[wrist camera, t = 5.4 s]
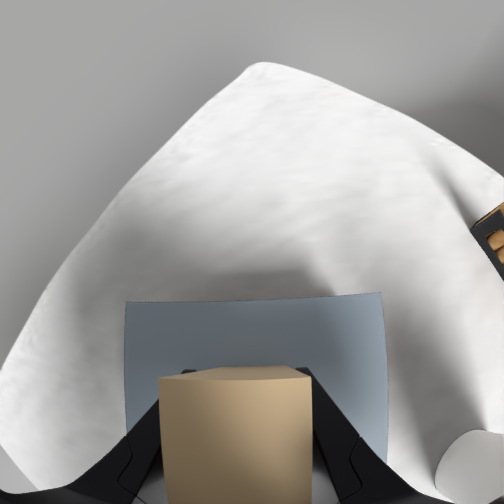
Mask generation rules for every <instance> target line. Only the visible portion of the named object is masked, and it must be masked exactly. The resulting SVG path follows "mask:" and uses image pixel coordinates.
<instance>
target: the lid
mask: <svg viewBox="0 0 504 504" xmlns="http://www.w3.org/2000/svg"><path fill="white" fill-rule="evenodd" d="M296 367H308V368H309V370H310V371H311V372H312V373H313V375H314V376H315V377H316V379H317V380H318V381H319V383H320V384H321V385H322V387H323V388H324V389H325V390H326V392H327V393H328V394H329V396H330V397H331V398H332V400H333V401H334V402H335V403H336V405H337V406H338V407H339V409H340V410H341V411H342V412H343V414H344V415H345V416H346V418H347V419H348V420H349V421H350V423H351V424H352V425H353V426H354V428H355V429H356V430H357V432H358V433H359V434H360V437H362V438H363V439H364V440H365V441H366V443H367V444H368V445H369V446H370V448H371V449H372V450H373V451H374V452H375V453H376V454H377V455H378V456H379V457H380V458H381V459H382V460H383V461H384V462H385V463H386V464H387V446H388V372H387V353H386V338H385V327H384V316H383V307H382V298H381V292H379V293H367V294H355V295H342V296H328V297H312V298H295V299H275V300H251V301H218V302H126V313H125V340H124V385H125V411H126V427H127V433H128V432H129V431H130V430H131V428H132V427H133V426H134V425H135V424H136V423H137V422H138V421H139V420H140V418H141V417H142V416H143V415H144V414H145V413H146V412H147V411H148V410H149V408H150V407H151V406H152V405H153V404H154V403H155V402H156V401H157V399H158V398H159V412H160V430H161V445H162V457H163V467H164V477H165V486H166V494H167V502H168V504H312V388H311V377H310V376H308V375H306V374H303V373H301V372H299V371H297V370H295V368H296ZM184 369H195V370H196V371H197V372H192V373H186V374H180V373H181V372H182V371H183V370H184Z"/></svg>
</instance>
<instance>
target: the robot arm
mask: <svg viewBox="0 0 504 504" xmlns="http://www.w3.org/2000/svg"><path fill="white" fill-rule="evenodd" d="M295 370H297V371H299V372H301V373H303V374H306V375H308V376H310V377H311V388H312V504H455V503H451V502H447V501H444V500H440V499H437V498H433V497H430V496H427V495H424V494H422V493H420V492H418V491H417V490H415V489H414V488H412V487H411V486H410V485H409V484H408V483H406V482H405V481H404V480H403V479H402V478H401V477H400V476H399V475H398V474H396V473H395V472H394V471H393V470H392V469H391V468H390V467H389V466H388V465H387V464H386V463H385V462H384V461H383V460H382V459H381V458H380V457H379V456H378V455H377V454H376V453H375V452H374V451H373V450H372V449H371V448H370V446H369V445H368V444H367V443H366V441H365V440H364V439H363V438H362V437H360V434H359V433H358V432H357V430H356V429H355V428H354V426H353V425H352V424H351V423H350V421H349V420H348V419H347V418H346V416H345V415H344V414H343V412H342V411H341V410H340V409H339V407H338V406H337V405H336V403H335V402H334V401H333V400H332V398H331V397H330V396H329V394H328V393H327V392H326V390H325V389H324V388H323V387H322V385H321V384H320V383H319V381H318V380H317V379H316V377H315V376H314V375H313V373H312V372H311V371H310V370H309V368H308V367H296V368H295ZM192 372H197V371H196V370H195V369H184V370H183V371H182V372H181V373H180V374H186V373H192ZM0 504H168V502H167V494H166V486H165V477H164V467H163V457H162V445H161V430H160V412H159V398H158V399H157V401H156V402H155V403H154V404H153V405H152V406H151V407H150V408H149V410H148V411H147V412H146V413H145V414H144V415H143V416H142V417H141V418H140V420H139V421H138V422H137V423H136V424H135V425H134V426H133V427H132V428H131V430H130V431H129V432H128V433H127V434H126V436H124V437H123V438H122V439H121V440H120V441H119V443H118V444H117V445H116V446H115V447H114V448H113V449H112V450H111V451H110V452H109V453H108V454H106V455H105V456H104V457H103V458H102V459H101V460H100V461H99V462H97V463H96V464H95V465H94V466H93V467H91V468H90V469H89V470H88V471H86V472H85V473H84V474H83V475H81V476H80V477H79V478H78V479H76V480H75V481H74V482H72V483H70V484H68V485H66V486H63V487H59V488H54V489H48V490H42V491H37V492H29V493H22V494H12V493H7V492H5V491H3V490H1V489H0ZM488 504H504V496H500V497H499V498H497V499H495V500H494V501H492V502H490V503H488Z"/></svg>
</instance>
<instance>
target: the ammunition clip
mask: <svg viewBox="0 0 504 504" xmlns="http://www.w3.org/2000/svg"><path fill="white" fill-rule="evenodd" d="M495 230H496V231H495ZM494 231H495V232H494ZM470 233H471V234H472V235H473V237H474V238H475V239H476V241H477V242H478V243H479V245H480V246H481V248H482V249H483V251H484V252H485V253H486V255H487V256H488V258H489V259H490V261H491V262H492V264H493V265H494V267H495V268H496V270H497V272H498V273H499V275H500V276H501V278H502V279H503V281H504V202H503V203H502V204H500V205H499V206H498V207H496V208H495V209H493V210H492V211H491V212H489V213H488V214H487V215H485V216H484V217H482V218H481V219H480V220H478V221H477V222H476V223H475V224H474V226H473V227H472V228H471V229H470Z"/></svg>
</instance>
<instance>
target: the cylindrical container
mask: <svg viewBox="0 0 504 504" xmlns="http://www.w3.org/2000/svg"><path fill="white" fill-rule="evenodd" d="M435 486H436V489H437V491H438V492H439V493H440V494H442V495H443V496H445V497H446V498H448V499H450V500H451V501H453V502H454V503H456V504H488V503H490V502H492V501H494V500H495V499H497V498H499V497H500V496H504V435H503V434H498V433H493V432H488V431H484V430H471V431H469V432H466V433H465V434H463V435H461V436H460V437H459V438H458V439H456V440H455V441H454V442H453V443H452V444H451V445H450V446H449V448H448V449H447V450H446V452H445V453H444V455H443V456H442V458H441V460H440V462H439V464H438V467H437V470H436V474H435Z"/></svg>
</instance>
